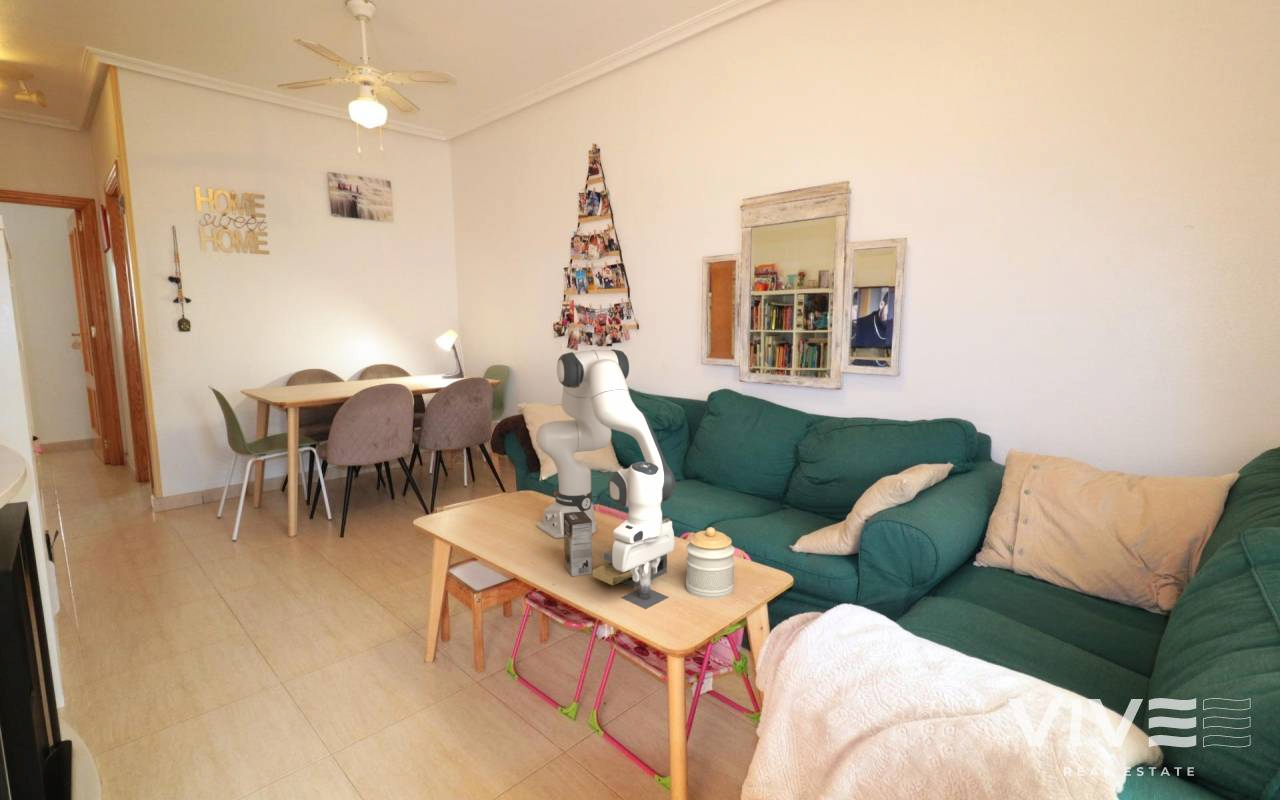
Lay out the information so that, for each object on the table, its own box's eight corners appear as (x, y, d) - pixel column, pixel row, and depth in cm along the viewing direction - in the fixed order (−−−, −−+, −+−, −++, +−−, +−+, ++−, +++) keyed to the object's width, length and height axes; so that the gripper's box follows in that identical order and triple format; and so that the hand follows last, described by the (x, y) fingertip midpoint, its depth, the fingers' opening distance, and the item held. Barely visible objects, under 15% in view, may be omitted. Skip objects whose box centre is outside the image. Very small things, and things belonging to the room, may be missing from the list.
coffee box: (563, 564, 176) (562, 512, 173) (584, 561, 178) (584, 510, 176) (571, 577, 167) (570, 522, 165) (593, 573, 169) (592, 519, 167)
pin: (636, 597, 154) (636, 560, 152) (644, 593, 156) (644, 557, 155) (645, 601, 152) (645, 564, 150) (653, 597, 154) (653, 560, 153)
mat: (620, 599, 154) (620, 597, 154) (644, 588, 160) (644, 586, 160) (645, 611, 148) (645, 609, 148) (669, 598, 154) (669, 597, 154)
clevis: (588, 582, 163) (587, 558, 162) (636, 562, 177) (636, 540, 176) (618, 596, 155) (617, 571, 154) (666, 574, 169) (666, 550, 168)
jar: (702, 575, 168) (703, 516, 166) (742, 588, 160) (744, 526, 158) (676, 591, 158) (676, 528, 156) (717, 606, 150) (718, 540, 148)
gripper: (662, 513, 161) (662, 561, 163) (608, 532, 146) (608, 585, 148) (680, 519, 157) (679, 568, 158) (625, 539, 142) (626, 593, 144)
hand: (644, 576), depth 153 cm, fingers open, 5 cm apart
